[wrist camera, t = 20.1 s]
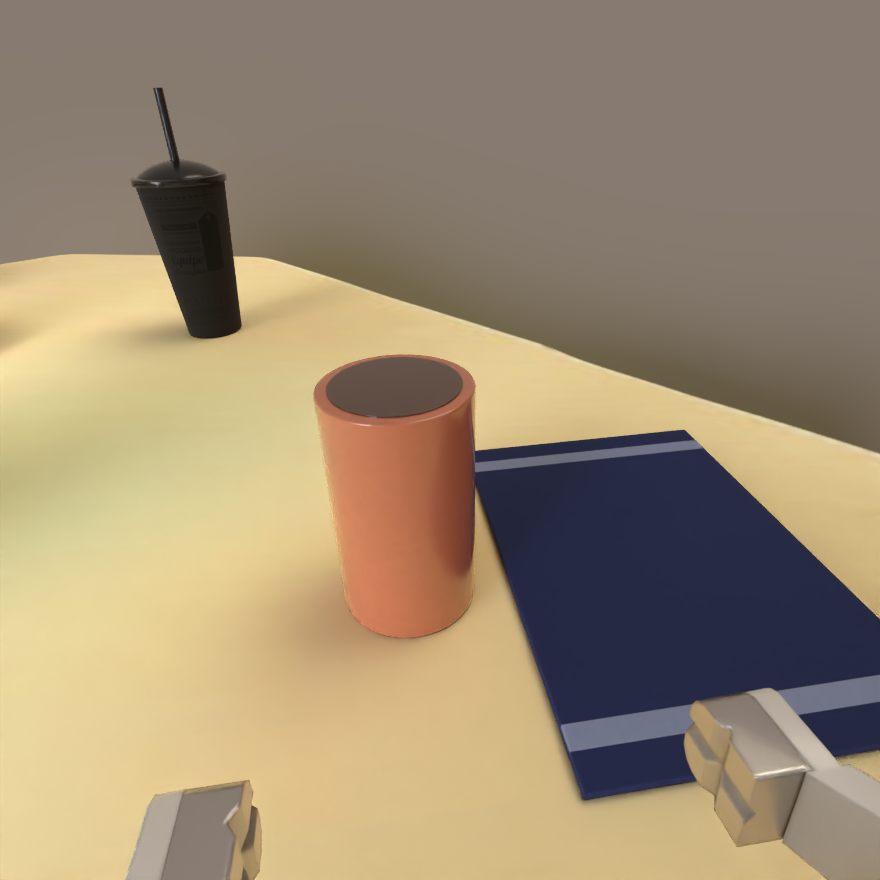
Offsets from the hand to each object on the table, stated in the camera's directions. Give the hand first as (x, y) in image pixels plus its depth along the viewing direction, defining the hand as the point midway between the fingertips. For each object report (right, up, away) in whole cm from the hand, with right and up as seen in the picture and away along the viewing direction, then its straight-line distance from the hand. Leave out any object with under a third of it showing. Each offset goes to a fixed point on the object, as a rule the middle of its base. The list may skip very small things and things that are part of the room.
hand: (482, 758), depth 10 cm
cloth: (+9, 0, +17) cm, 19 cm away
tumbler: (-2, -1, +15) cm, 15 cm away
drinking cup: (-23, +16, +45) cm, 53 cm away
